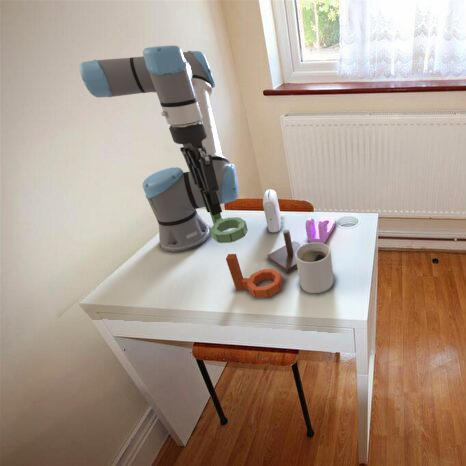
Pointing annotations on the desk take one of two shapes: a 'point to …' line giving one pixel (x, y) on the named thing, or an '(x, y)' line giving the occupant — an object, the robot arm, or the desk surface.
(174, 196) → the robot arm
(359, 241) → the desk surface
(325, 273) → the mug
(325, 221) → the bracket
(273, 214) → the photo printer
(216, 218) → the sage ring
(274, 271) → the rust ring
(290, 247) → the peg stand
